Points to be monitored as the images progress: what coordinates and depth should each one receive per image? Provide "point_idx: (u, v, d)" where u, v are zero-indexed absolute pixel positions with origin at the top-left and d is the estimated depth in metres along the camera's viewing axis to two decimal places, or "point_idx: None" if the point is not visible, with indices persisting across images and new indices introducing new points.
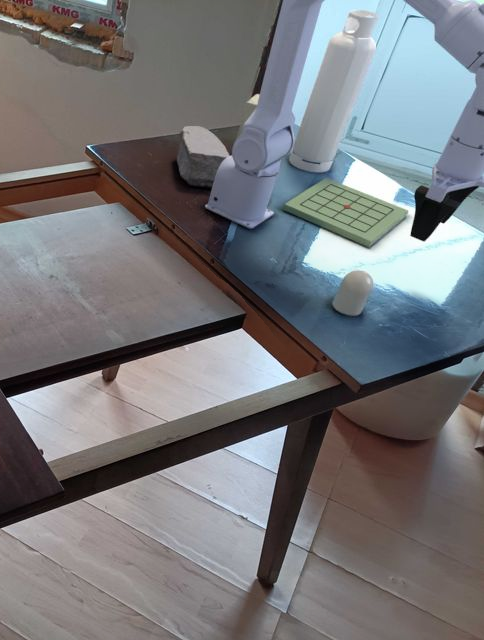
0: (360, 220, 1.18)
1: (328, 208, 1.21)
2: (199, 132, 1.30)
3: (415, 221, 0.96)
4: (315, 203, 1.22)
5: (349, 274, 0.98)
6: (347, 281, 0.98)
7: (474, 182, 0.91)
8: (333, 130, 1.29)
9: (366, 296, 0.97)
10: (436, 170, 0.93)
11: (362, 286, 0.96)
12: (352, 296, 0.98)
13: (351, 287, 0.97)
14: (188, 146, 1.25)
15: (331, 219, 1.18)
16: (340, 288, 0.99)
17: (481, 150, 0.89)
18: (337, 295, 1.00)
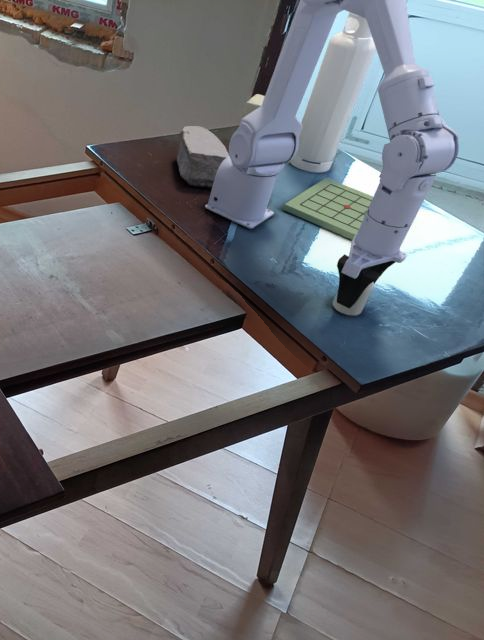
0: (360, 220, 1.18)
1: (328, 208, 1.21)
2: (199, 132, 1.30)
3: (340, 289, 0.97)
4: (315, 203, 1.22)
5: None
6: None
7: (390, 257, 0.92)
8: (333, 130, 1.29)
9: (366, 296, 0.97)
10: (354, 244, 0.94)
11: None
12: None
13: None
14: (188, 146, 1.25)
15: (331, 219, 1.18)
16: None
17: (394, 228, 0.89)
18: None
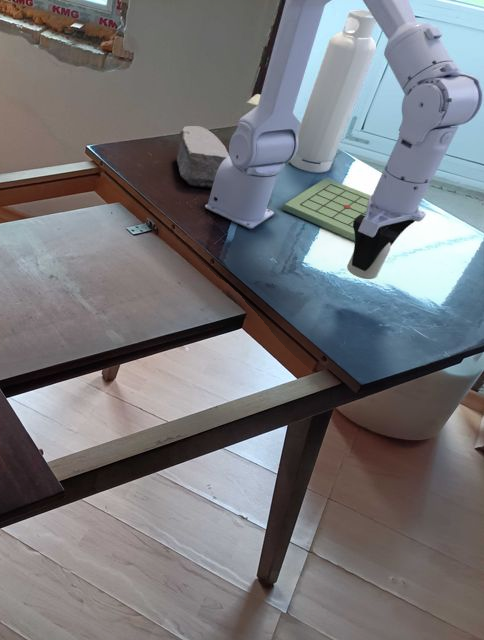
0: None
1: (328, 208, 1.21)
2: (199, 132, 1.30)
3: (355, 251, 0.94)
4: (315, 203, 1.22)
5: None
6: None
7: (408, 215, 0.88)
8: (333, 130, 1.29)
9: (383, 258, 0.94)
10: (371, 203, 0.90)
11: None
12: None
13: None
14: (188, 146, 1.25)
15: (331, 219, 1.18)
16: None
17: (414, 184, 0.86)
18: None
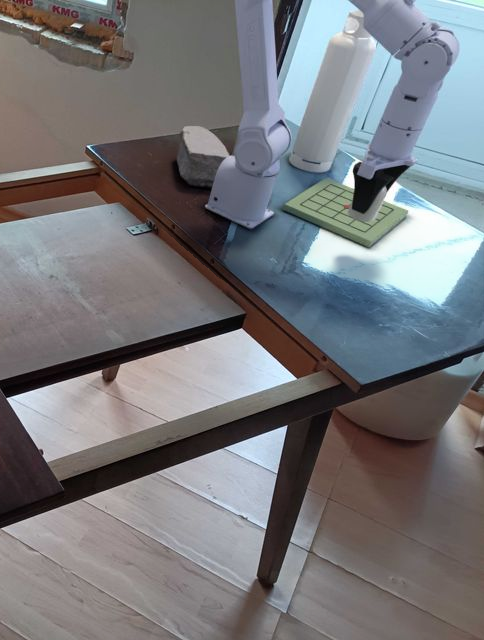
0: None
1: (328, 208, 1.21)
2: (199, 132, 1.30)
3: (355, 195, 1.05)
4: (315, 203, 1.22)
5: None
6: None
7: (402, 161, 0.99)
8: (333, 130, 1.29)
9: (380, 202, 1.05)
10: (368, 150, 1.01)
11: None
12: None
13: None
14: (188, 146, 1.25)
15: (331, 219, 1.18)
16: None
17: (406, 131, 0.96)
18: None
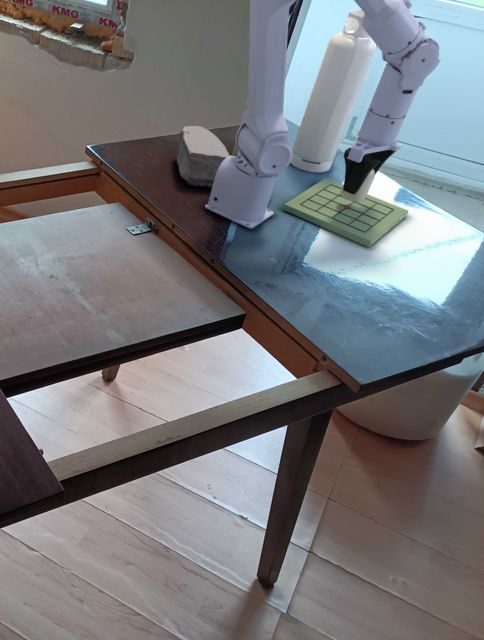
0: (360, 220, 1.18)
1: (328, 208, 1.21)
2: (199, 132, 1.30)
3: (346, 178, 1.17)
4: (315, 203, 1.22)
5: None
6: None
7: (387, 146, 1.11)
8: (333, 130, 1.29)
9: (368, 184, 1.17)
10: (357, 137, 1.13)
11: None
12: None
13: None
14: (188, 146, 1.25)
15: (331, 219, 1.18)
16: None
17: (391, 119, 1.09)
18: None
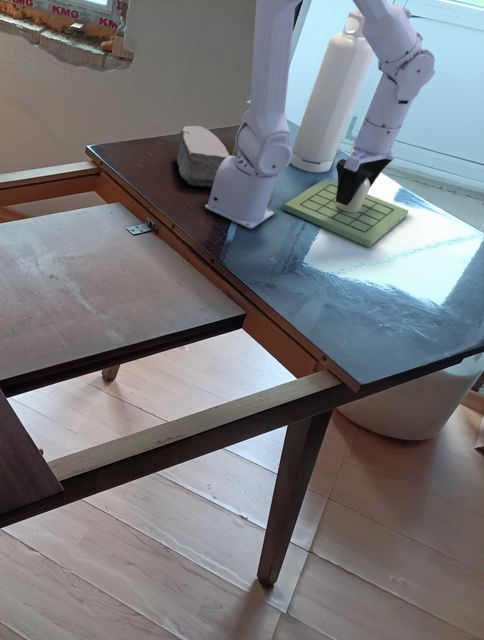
0: (360, 220, 1.18)
1: (328, 208, 1.21)
2: (199, 132, 1.30)
3: (338, 189, 1.17)
4: (315, 203, 1.22)
5: None
6: None
7: (383, 155, 1.12)
8: (333, 130, 1.29)
9: (364, 195, 1.18)
10: (354, 146, 1.14)
11: None
12: None
13: None
14: (188, 146, 1.25)
15: (331, 219, 1.18)
16: None
17: (387, 129, 1.10)
18: None
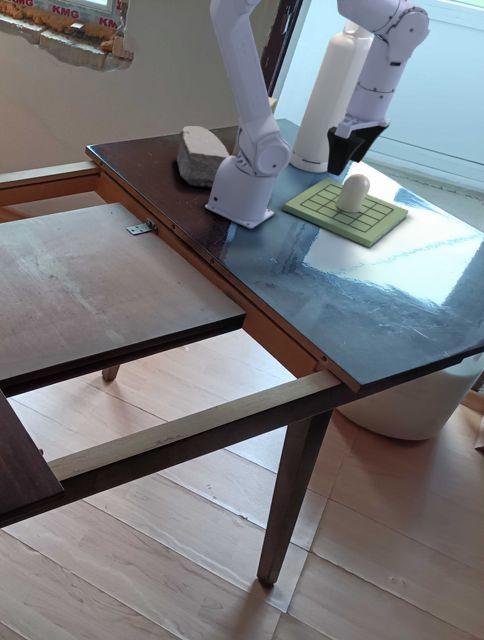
0: (360, 220, 1.18)
1: (328, 208, 1.21)
2: (199, 132, 1.30)
3: (329, 158, 1.12)
4: (315, 203, 1.22)
5: (350, 177, 1.19)
6: (348, 182, 1.18)
7: (376, 121, 1.07)
8: None
9: (364, 195, 1.18)
10: (345, 113, 1.09)
11: (360, 185, 1.17)
12: (352, 195, 1.18)
13: (351, 187, 1.18)
14: (188, 146, 1.25)
15: (331, 219, 1.18)
16: (342, 189, 1.20)
17: (380, 93, 1.04)
18: (340, 196, 1.21)
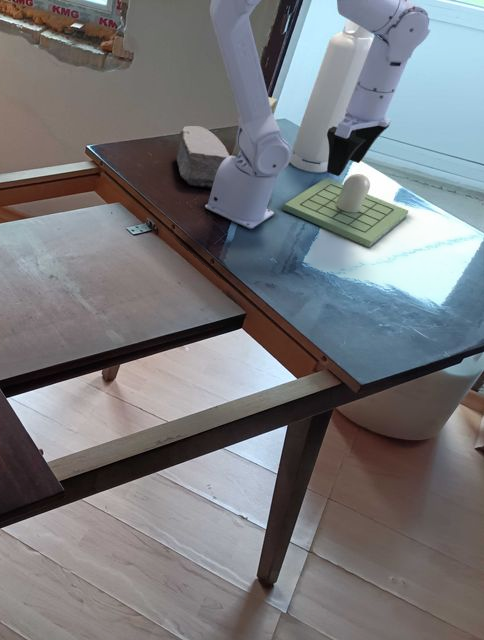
0: (360, 220, 1.18)
1: (328, 208, 1.21)
2: (199, 132, 1.30)
3: (329, 158, 1.12)
4: (315, 203, 1.22)
5: (350, 177, 1.19)
6: (348, 182, 1.18)
7: (376, 121, 1.07)
8: None
9: (364, 195, 1.18)
10: (345, 113, 1.09)
11: (360, 185, 1.17)
12: (352, 195, 1.18)
13: (351, 187, 1.18)
14: (188, 146, 1.25)
15: (331, 219, 1.18)
16: (342, 189, 1.20)
17: (380, 93, 1.04)
18: (340, 196, 1.21)
